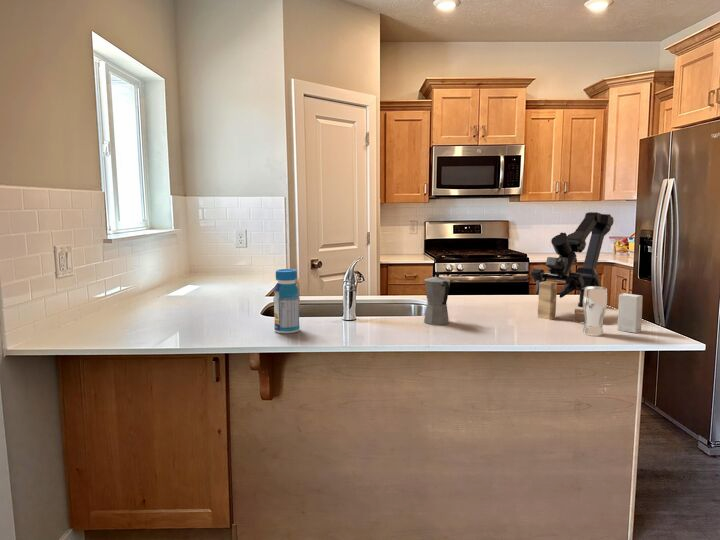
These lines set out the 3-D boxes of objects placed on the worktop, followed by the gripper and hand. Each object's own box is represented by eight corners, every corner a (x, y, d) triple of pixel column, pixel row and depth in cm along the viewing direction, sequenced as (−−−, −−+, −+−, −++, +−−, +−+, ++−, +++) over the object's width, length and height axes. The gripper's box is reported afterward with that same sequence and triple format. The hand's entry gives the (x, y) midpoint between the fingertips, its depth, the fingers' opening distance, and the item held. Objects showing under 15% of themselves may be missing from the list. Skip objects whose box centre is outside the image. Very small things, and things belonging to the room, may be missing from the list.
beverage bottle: (289, 335, 161) (288, 272, 158) (268, 331, 165) (267, 270, 162) (305, 329, 168) (304, 269, 165) (284, 326, 172) (283, 267, 169)
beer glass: (603, 337, 159) (606, 290, 157) (579, 334, 163) (582, 288, 161) (606, 332, 165) (609, 287, 163) (582, 330, 169) (585, 285, 167)
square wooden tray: (574, 316, 188) (575, 308, 188) (601, 319, 185) (601, 310, 184) (574, 322, 180) (574, 313, 180) (602, 324, 177) (603, 315, 176)
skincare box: (641, 331, 167) (644, 295, 165) (635, 333, 164) (638, 296, 162) (622, 328, 172) (624, 292, 170) (616, 330, 169) (618, 294, 167)
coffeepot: (417, 319, 184) (417, 269, 182) (441, 317, 186) (442, 268, 184) (434, 329, 169) (435, 275, 167) (459, 327, 172) (461, 274, 169)
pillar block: (543, 315, 190) (545, 281, 188) (555, 317, 187) (557, 282, 185) (537, 317, 187) (539, 282, 185) (549, 319, 184) (551, 283, 182)
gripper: (534, 247, 194) (517, 278, 189) (582, 251, 181) (566, 284, 175) (543, 266, 201) (527, 297, 195) (591, 271, 187) (575, 304, 181)
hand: (548, 295), depth 186 cm, fingers open, 9 cm apart
